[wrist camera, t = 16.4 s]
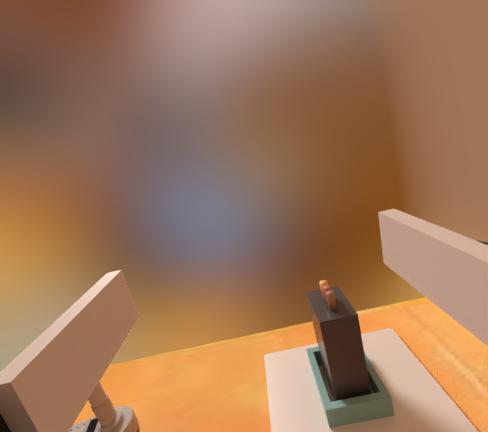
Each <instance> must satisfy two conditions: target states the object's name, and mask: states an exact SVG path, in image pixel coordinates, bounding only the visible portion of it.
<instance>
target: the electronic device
mask: <svg viewBox="0 0 488 432" xmlns="http://www.w3.org/2000/svg"><path fill="white" fill-rule="evenodd" d="M88 400H89V402H90V404H91V408H92V410H93V412H94V414H95V417H93V418H91V419H88V420H85V421H83V422H80V423H78V424H75V425H73V426H72V427H71V428H70V430H69V431H68V432H137V429H138V420H137V417H136V416H135V413H134V411H133V409H131V408H130V407H127V406H121V407H118V408H115V409H114V407H113V404H112V403H111V401H110V399H109V397H108V395H107V394H105V392H104V390H103V388H102V386H101V384H100V382H98V384H97V386H96V387H95V389H94V390H93V392H92V394H91V395H90V397H89V399H88Z"/></svg>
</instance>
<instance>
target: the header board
mask: <svg viewBox="0 0 488 432" xmlns="http://www.w3.org/2000/svg"><path fill="white" fill-rule="evenodd" d="M361 337H362V343H363V348H364V354H365V360H366V365H367V371H368V377H369V383H370V388H371V394H368V395H363V396H358V397H353V398H348V399H343V400H338V401H335V400H334V398H333V395H332V392H331V389H330V387H329V384H328V381H327V378H326V376H325V373H324V370H323V366H322V361H321V357H320V352H319V348H318V343H317V344H312V345H308V346H303V347H298V348H293V349H289V350H284V351H279V352H275V353H270V354H265V355H264V358H265V369H266V380H267V390H268V401H269V412H270V422H271V432H478V430H477V429H476V428H475V427H474V426H473V425H472V423H471V422H470V421H469V420H468V419H467V417H466V416H465V415H464V414H463V413H462V411H461V410H460V409H459V408H458V407H457V405H456V404H455V403H454V402H453V401H452V399H451V398H450V397H449V396H448V395H447V393H446V392H445V391H444V390H443V389H442V388H441V386H440V385H439V384H438V383H437V382H436V380H435V379H434V378H433V377H432V376H431V374H430V373H429V372H428V371H427V370H426V368H425V367H424V366H423V365H422V364H421V362H420V361H419V360H418V359H417V358H416V357H415V355H414V354H413V353H412V352H411V351H410V349H409V348H408V347H407V346H406V345H405V343H404V342H403V341H402V340H401V339H400V337H399V336H398V335H397V334H396V333H395V331H394V330H393V329H392V328H388V329H383V330H378V331H374V332H369V333H364V334H361Z"/></svg>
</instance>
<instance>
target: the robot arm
mask: <svg viewBox="0 0 488 432" xmlns="http://www.w3.org/2000/svg"><path fill="white" fill-rule="evenodd" d="M378 214H379V223H380V232H381V241H382V251H383V259H384V264H386V265H387V266H388V267H389V268H391V269H392V270H393V271H394V272H396V273H397V274H398V275H399V276H401V277H402V278H403V279H404V280H406V281H407V282H408V283H409V284H411V285H412V286H413V287H414V288H416V289H417V290H418V291H419V292H421V293H422V294H423V295H424V296H426V297H427V298H428V299H429V300H431V301H432V302H433V303H434V304H436V305H437V306H438V307H439V308H441V309H442V310H443V311H444V312H446V313H447V314H448V315H449V316H451V317H452V318H453V319H454V320H456V321H457V322H458V323H459V324H461V325H462V326H463V327H464V328H466V329H467V330H468V331H470V332H471V333H472V334H473V335H475V336H476V337H477V338H478V339H480V340H481V341H482V342H483V343H485V344H486V345H487V346H488V243H486V242H481V241H475V240H473V239H471V238H468V237H465V236H463V235H460V234H458V233H455V232H453V231H450V230H447V229H445V228H442V227H440V226H437V225H435V224H432V223H429V222H427V221H424V220H421V219H419V218H416V217H414V216H411V215H409V214H406V213H404V212H401V211H399V210H396V209H391V210H386V211H382V212H378ZM138 316H139V315H138V312H137V310H136V307H135V304H134V302H133V300H132V297H131V294H130V292H129V289H128V286H127V284H126V281H125V278H124V276H123V273H122V271H121V270H119V271H114V272H110V273H107V274H106V275H105V276H103V277H102V278H101V279H100V280H99V281H98V282H97V283H96V284H95V285H94V286H93V287H92V288H91V289H89V290H88V291H87V292H86V293H85V294H84V295H83V296H82V297H81V298H80V299H79V300H78V301H77V302H75V303H74V304H73V305H72V306H71V307H70V308H69V309H68V310H67V311H66V312H65V313H64V314H62V315H61V316H60V317H59V318H58V319H57V320H56V321H55V322H54V323H53V324H52V325H51V326H50V327H49V328H48V329H46V330H45V331H44V332H43V333H42V334H41V335H40V336H39V337H38V338H37V339H36V340H34V341H33V342H32V343H31V344H30V345H29V346H28V347H27V348H26V349H25V350H24V351H23V352H22V353H20V354H19V355H18V356H17V357H16V358H15V359H14V360H13V361H12V362H11V363H10V364H9V365H8V366H6V367H5V368H4V369H3V370H2V371H1V372H0V432H68V431H69V430H70V428H71V427H72V425H73V423H74V422H75V420H76V418H77V417H78V415H79V413H80V412H81V410H82V409H83V407H84V405H85V404H86V402H87V400H88V399H89V397H90V395H91V394H92V392H93V390H94V389H95V387H96V386H97V384H98V382H99V381H100V379H101V377H102V376H103V374H104V372H105V371H106V369H107V368H108V366H109V364H110V363H111V361H112V359H113V357H114V356H115V354H116V353H117V351H118V349H119V348H120V346H121V345H122V343H123V341H124V340H125V338H126V336H127V335H128V333H129V331H130V330H131V328H132V326H133V325H134V323H135V322H136V320H137V318H138Z"/></svg>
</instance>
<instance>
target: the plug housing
mask: <svg viewBox="0 0 488 432" xmlns="http://www.w3.org/2000/svg"><path fill="white" fill-rule="evenodd" d="M320 288H321V290H317V291H313V292H308V293H307V297H308V302H309V306H310V311H311V316H312V320H313V325H314V329H315V334H316V339H317V343H318V348H319V352H320V357H321V361H322V366H323V370H324V373H325V376H326V378H327V381H328V384H329V387H330V389H331V392H332V395H333V398H334V400H335V401H338V400H343V399H348V398H353V397H358V396H363V395H368V394H371V388H370V383H369V377H368V371H367V365H366V360H365V354H364V348H363V343H362V337H361V331H360V325H359V320H358V314H357V313H356V311H355V310H354V309H353V307H352V306H351V304H350V303H349V301H348V300H347V299H346V297H345V296H344V294H343V293H342V291H341V290H340V289H339V287H338V286H335V287H330V286H329V285H328V283H327V281H326V280H322V281H320Z"/></svg>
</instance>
